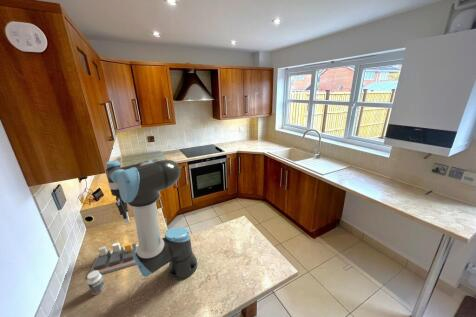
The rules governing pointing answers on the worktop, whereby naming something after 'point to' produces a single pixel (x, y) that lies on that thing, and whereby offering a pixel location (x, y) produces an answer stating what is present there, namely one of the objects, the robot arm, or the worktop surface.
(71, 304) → the worktop surface
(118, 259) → the panel
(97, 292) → the pill bottle
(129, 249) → the block
